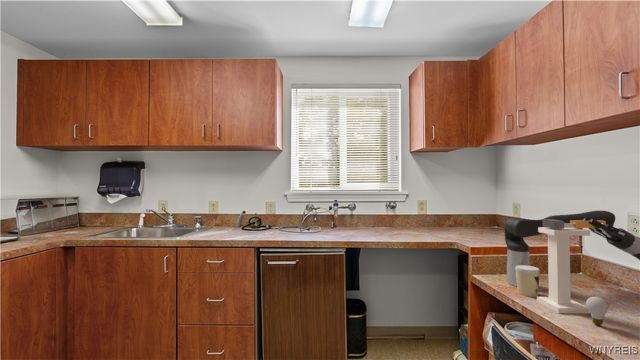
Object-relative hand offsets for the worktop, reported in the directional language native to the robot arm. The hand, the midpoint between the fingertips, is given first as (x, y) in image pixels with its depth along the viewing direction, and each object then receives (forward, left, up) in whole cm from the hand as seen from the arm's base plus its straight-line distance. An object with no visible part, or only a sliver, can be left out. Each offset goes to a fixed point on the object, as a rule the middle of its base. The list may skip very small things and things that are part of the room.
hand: (587, 220), depth 123 cm
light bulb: (+16, -11, -36) cm, 41 cm away
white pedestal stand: (0, -10, -35) cm, 37 cm away
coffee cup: (-15, -15, -36) cm, 42 cm away
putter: (0, -5, -3) cm, 6 cm away
